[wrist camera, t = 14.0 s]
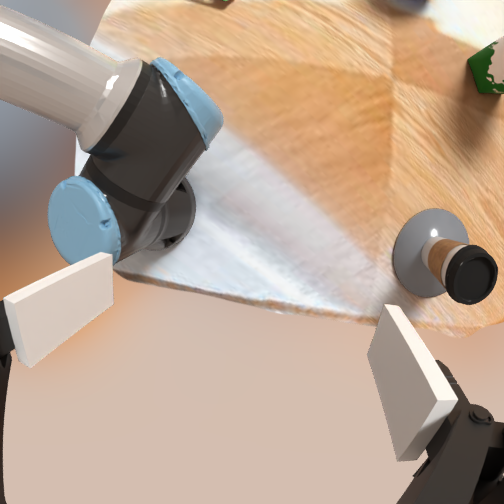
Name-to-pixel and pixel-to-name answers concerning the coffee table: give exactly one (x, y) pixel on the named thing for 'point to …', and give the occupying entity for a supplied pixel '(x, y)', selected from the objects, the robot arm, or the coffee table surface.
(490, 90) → the milk carton
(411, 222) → the disc
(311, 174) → the coffee table surface
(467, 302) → the coffee cup
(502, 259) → the coffee table surface
